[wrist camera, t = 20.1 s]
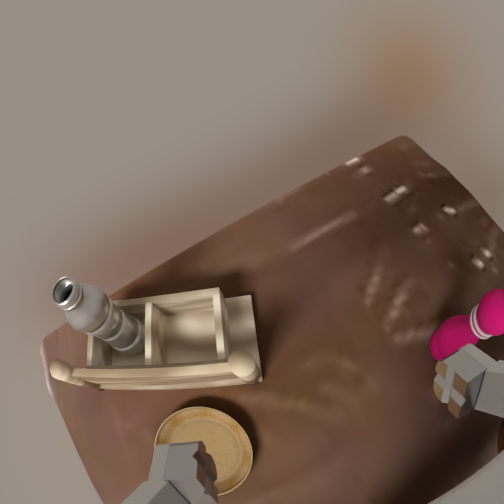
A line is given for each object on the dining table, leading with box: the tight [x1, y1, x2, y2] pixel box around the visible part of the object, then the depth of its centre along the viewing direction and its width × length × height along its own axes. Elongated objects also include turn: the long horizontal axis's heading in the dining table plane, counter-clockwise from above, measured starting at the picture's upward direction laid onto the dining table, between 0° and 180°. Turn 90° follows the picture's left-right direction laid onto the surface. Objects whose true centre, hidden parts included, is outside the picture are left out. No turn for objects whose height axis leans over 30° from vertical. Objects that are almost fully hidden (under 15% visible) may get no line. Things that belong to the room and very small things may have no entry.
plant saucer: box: [154, 407, 253, 496], centre depth 35 cm, size 15×15×3 cm
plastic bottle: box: [52, 276, 145, 355], centre depth 36 cm, size 6×7×20 cm
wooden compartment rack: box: [50, 287, 263, 391], centre depth 40 cm, size 14×30×12 cm, turn 97°
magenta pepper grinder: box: [430, 289, 504, 361], centre depth 31 cm, size 7×7×20 cm
